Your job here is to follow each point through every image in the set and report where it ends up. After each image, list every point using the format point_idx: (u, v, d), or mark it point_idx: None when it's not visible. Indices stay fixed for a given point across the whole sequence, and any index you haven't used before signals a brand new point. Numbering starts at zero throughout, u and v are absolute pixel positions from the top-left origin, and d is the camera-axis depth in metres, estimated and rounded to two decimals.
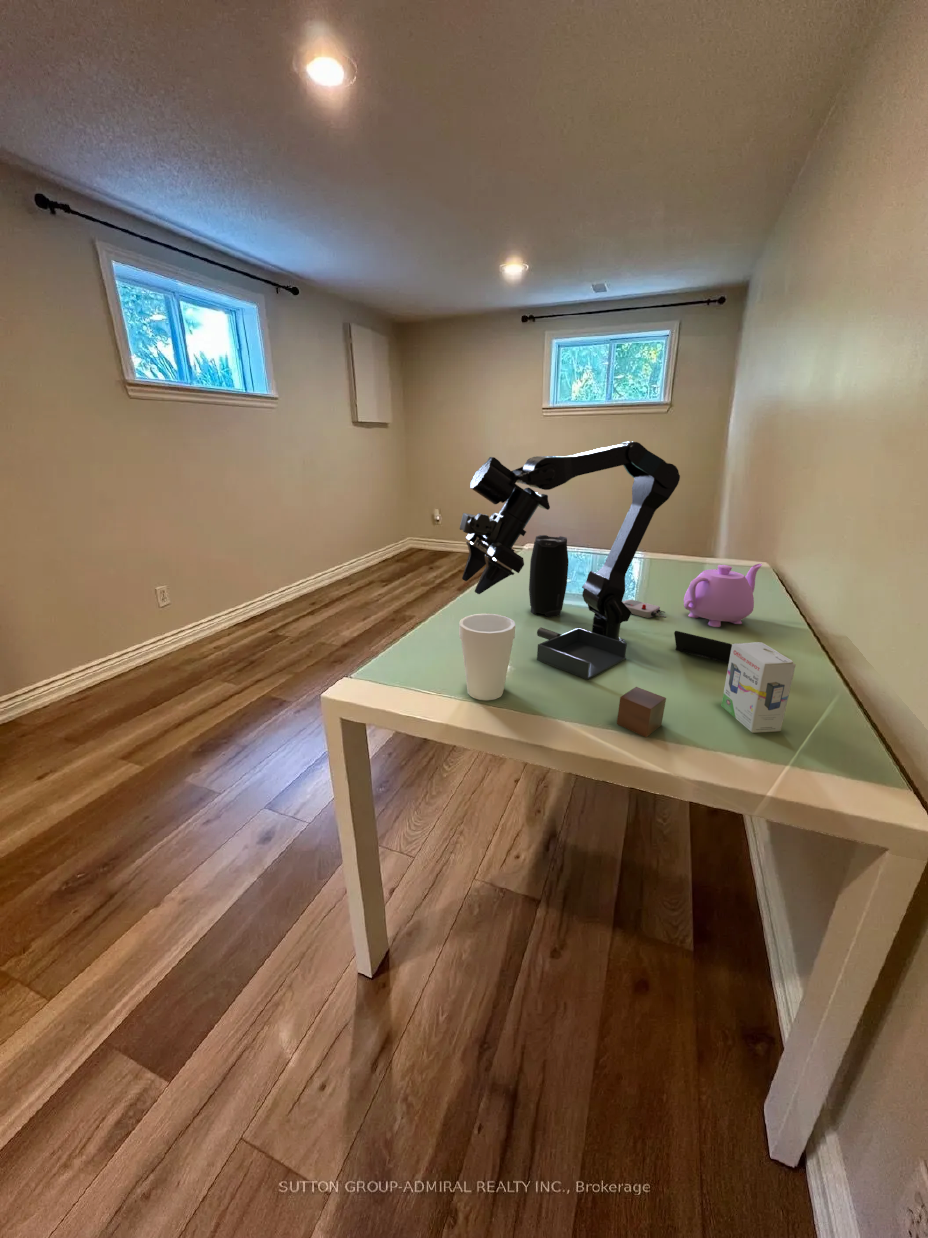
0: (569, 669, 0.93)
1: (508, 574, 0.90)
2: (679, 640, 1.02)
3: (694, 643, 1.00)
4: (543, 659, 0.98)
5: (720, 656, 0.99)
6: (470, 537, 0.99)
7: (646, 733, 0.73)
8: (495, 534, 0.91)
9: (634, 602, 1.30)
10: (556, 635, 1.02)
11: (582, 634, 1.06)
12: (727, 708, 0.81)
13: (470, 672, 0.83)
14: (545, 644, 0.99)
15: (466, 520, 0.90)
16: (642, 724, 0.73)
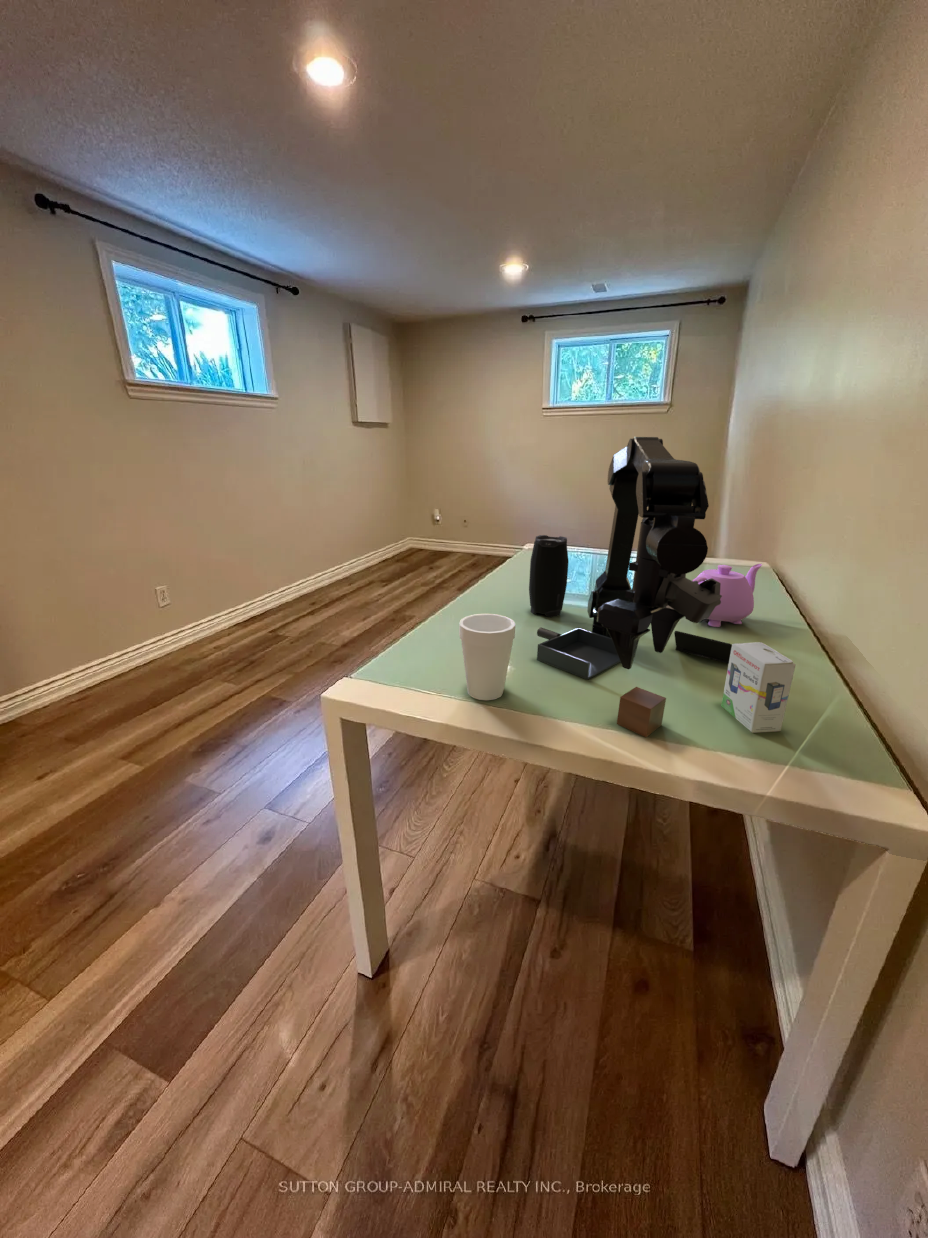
0: (569, 669, 0.93)
1: None
2: (679, 640, 1.02)
3: (694, 643, 1.00)
4: (543, 659, 0.98)
5: (720, 656, 0.99)
6: (648, 624, 0.64)
7: (646, 733, 0.73)
8: None
9: None
10: (556, 635, 1.02)
11: (582, 634, 1.06)
12: (727, 708, 0.81)
13: (470, 672, 0.83)
14: (545, 644, 0.99)
15: (716, 605, 0.65)
16: (642, 724, 0.73)
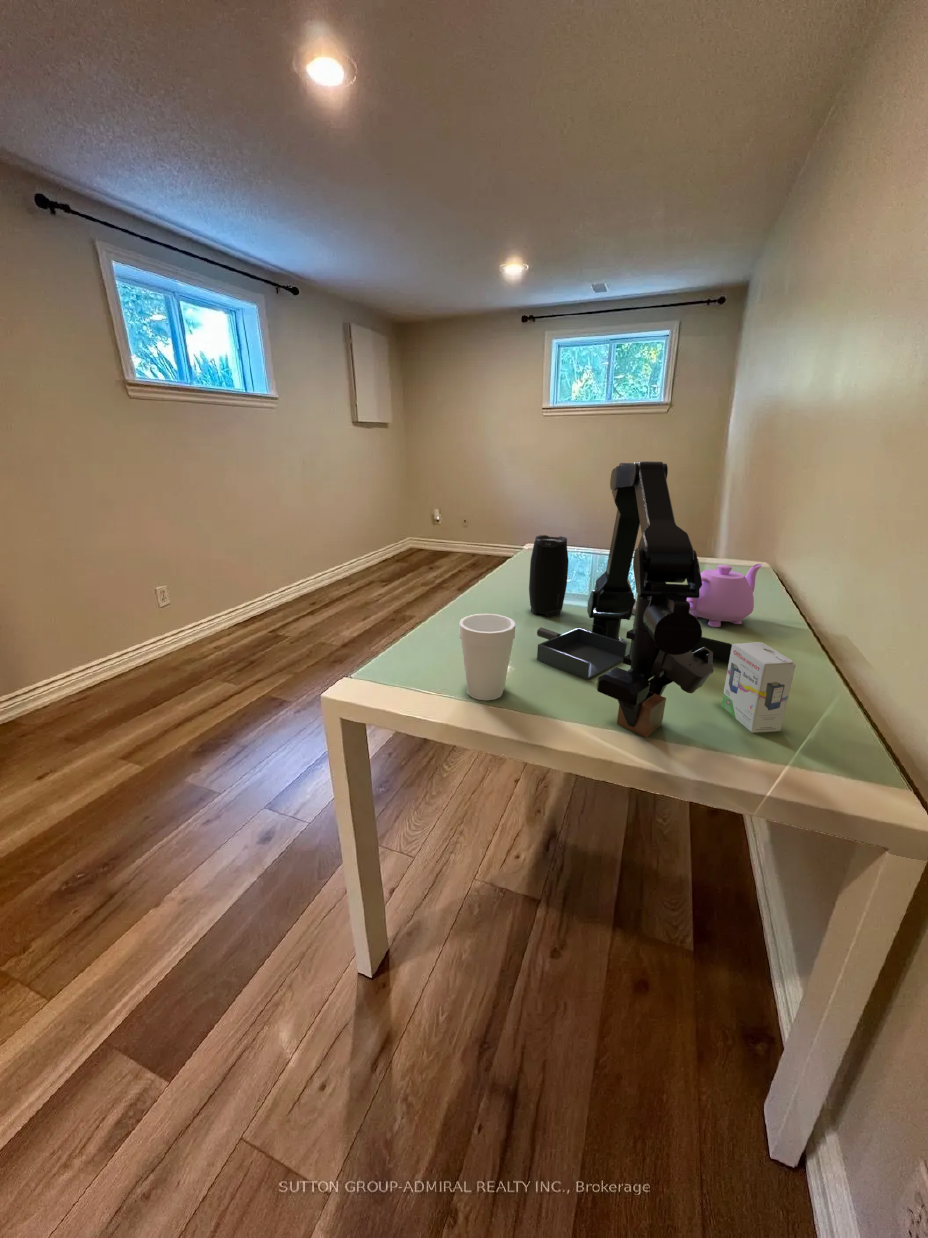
0: (569, 669, 0.93)
1: None
2: None
3: None
4: (543, 659, 0.98)
5: (720, 656, 0.99)
6: (645, 694, 0.68)
7: (646, 733, 0.73)
8: None
9: None
10: (556, 635, 1.02)
11: (582, 634, 1.06)
12: (727, 708, 0.81)
13: (470, 672, 0.83)
14: (545, 644, 0.99)
15: (709, 674, 0.68)
16: (642, 724, 0.73)
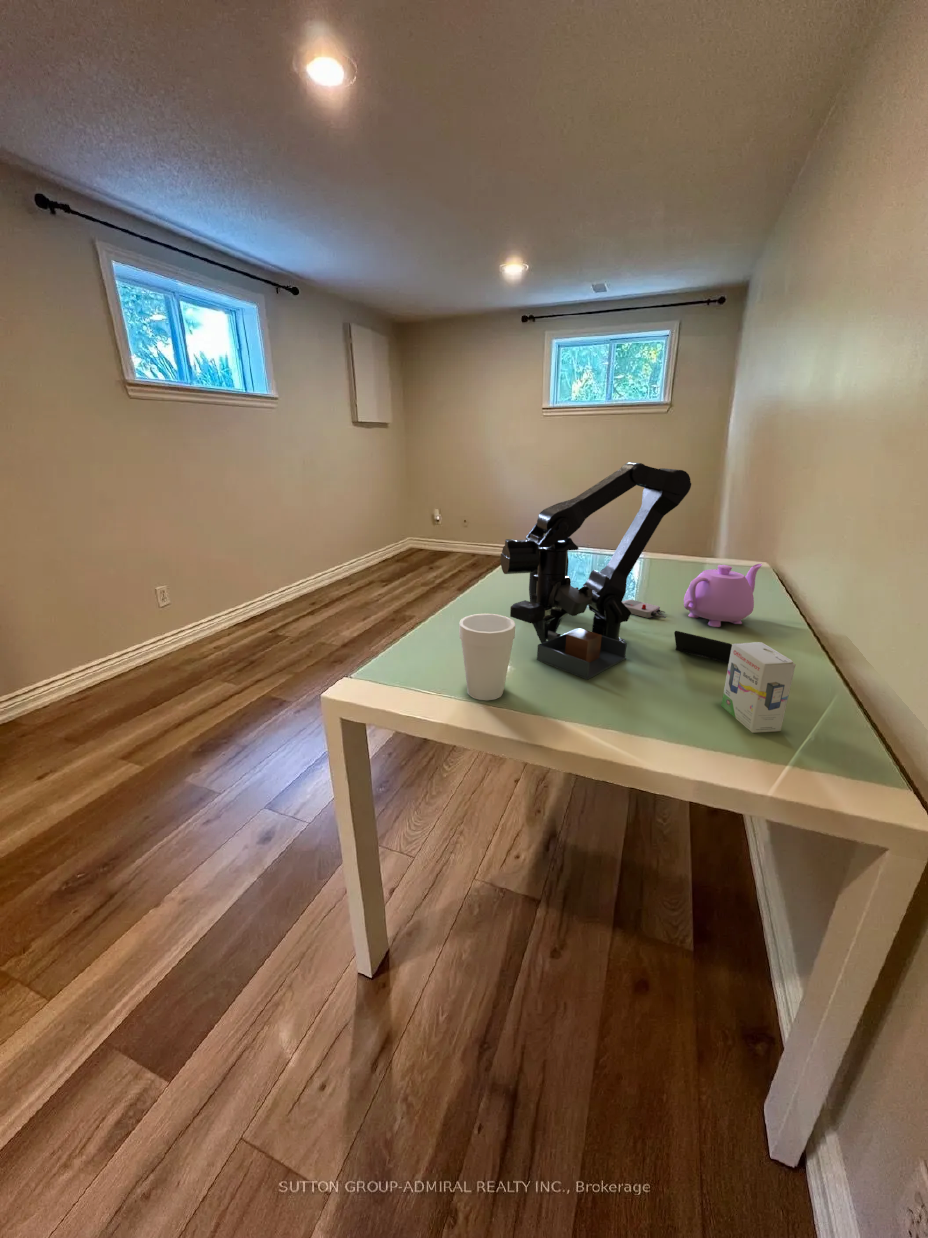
0: (569, 669, 0.93)
1: None
2: (679, 640, 1.02)
3: (694, 643, 1.00)
4: (543, 659, 0.98)
5: (720, 656, 0.99)
6: (542, 617, 0.96)
7: None
8: None
9: (634, 602, 1.30)
10: (556, 635, 1.02)
11: None
12: (727, 708, 0.81)
13: (470, 672, 0.83)
14: (545, 644, 0.99)
15: (587, 603, 0.97)
16: (582, 654, 0.96)
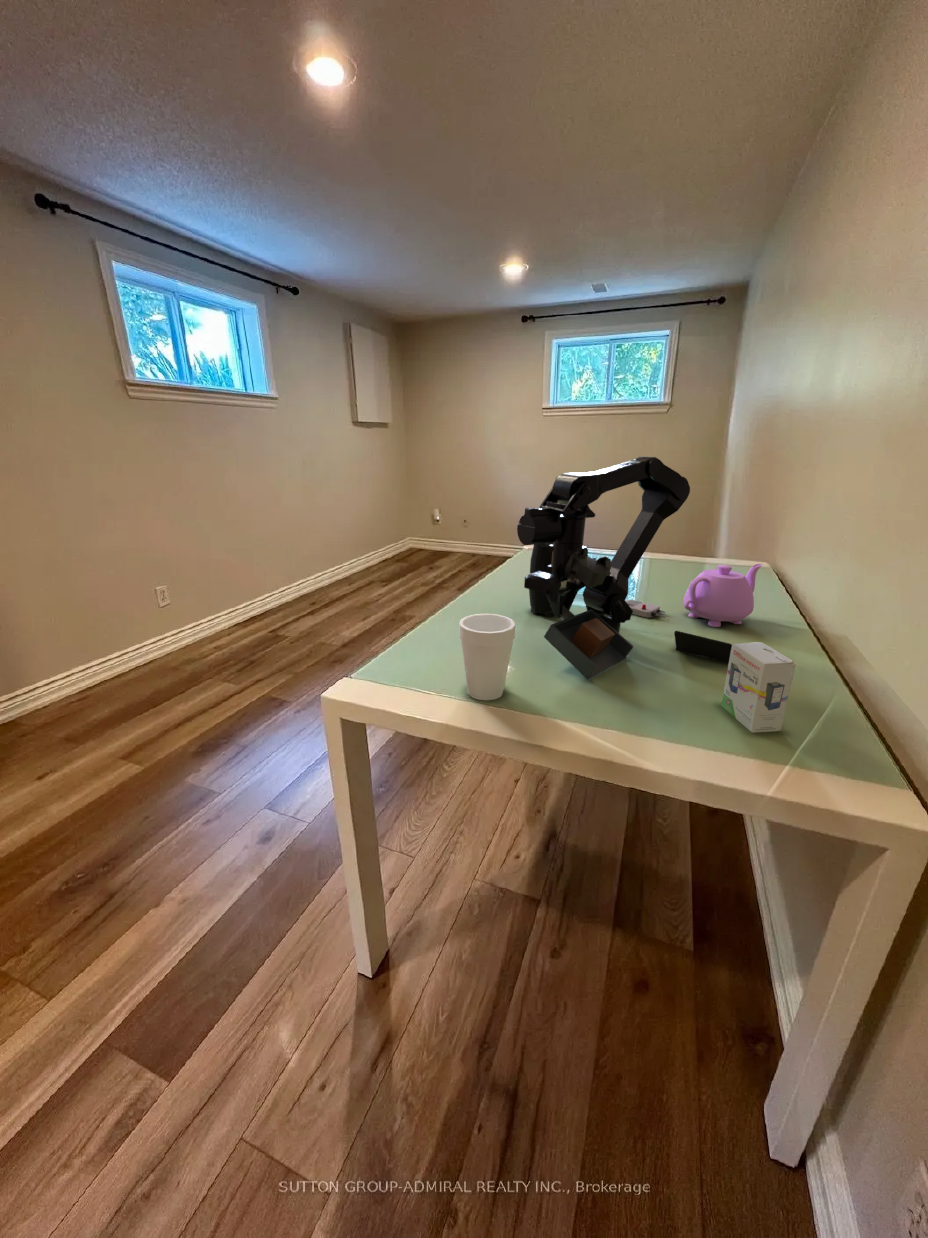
0: (573, 662, 0.92)
1: None
2: (679, 640, 1.02)
3: (694, 643, 1.00)
4: (550, 640, 0.95)
5: (720, 656, 0.99)
6: (558, 588, 0.92)
7: (590, 655, 0.95)
8: None
9: (634, 602, 1.30)
10: (570, 616, 0.98)
11: (592, 618, 1.03)
12: (727, 708, 0.81)
13: (470, 672, 0.83)
14: (557, 625, 0.95)
15: (606, 574, 0.93)
16: (590, 648, 0.94)
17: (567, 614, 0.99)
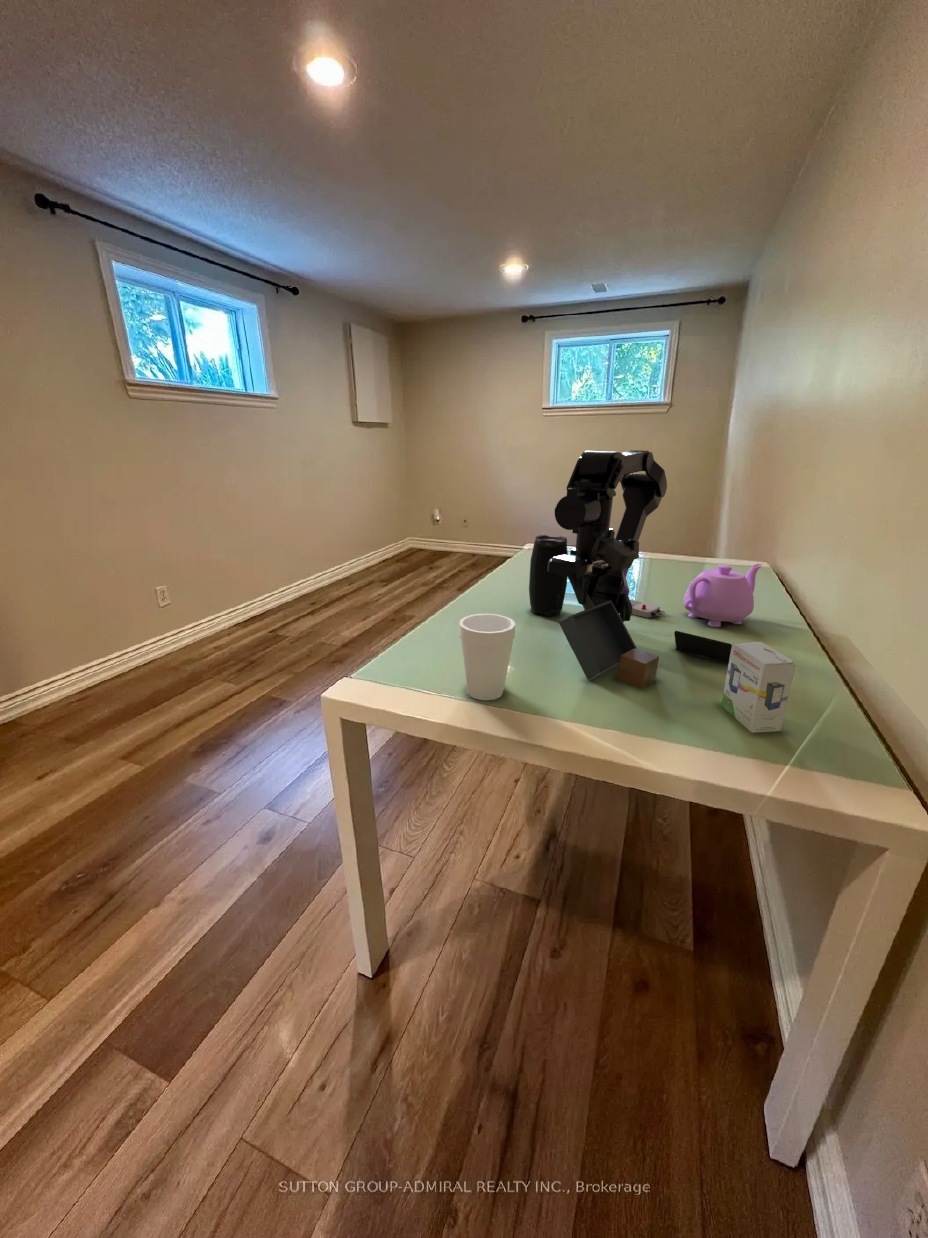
0: (580, 658, 0.91)
1: None
2: (679, 640, 1.02)
3: (694, 643, 1.00)
4: (564, 628, 0.92)
5: (720, 656, 0.99)
6: (584, 571, 0.87)
7: (620, 659, 0.90)
8: None
9: (634, 602, 1.30)
10: (590, 606, 0.94)
11: (609, 609, 1.00)
12: (727, 708, 0.81)
13: (470, 672, 0.83)
14: (576, 616, 0.92)
15: (634, 557, 0.88)
16: (623, 666, 0.90)
17: (588, 604, 0.94)
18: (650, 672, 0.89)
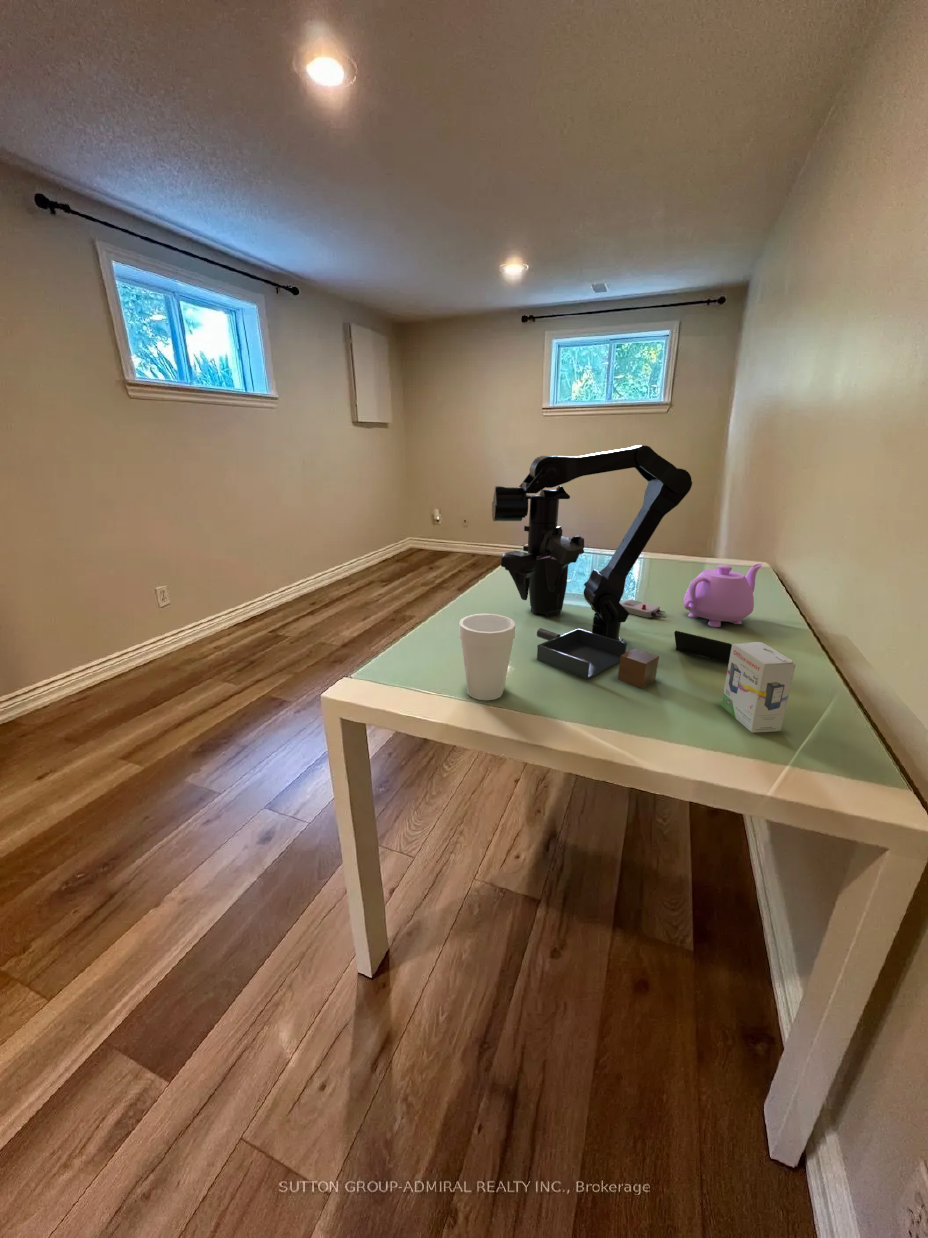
0: (569, 669, 0.93)
1: None
2: (679, 640, 1.02)
3: (694, 643, 1.00)
4: (543, 660, 0.98)
5: (720, 656, 0.99)
6: (533, 566, 0.95)
7: (620, 659, 0.90)
8: None
9: (634, 602, 1.30)
10: (556, 636, 1.02)
11: (582, 635, 1.06)
12: (727, 708, 0.81)
13: (470, 672, 0.83)
14: (545, 645, 0.99)
15: (579, 552, 0.96)
16: (623, 666, 0.90)
17: (553, 635, 1.03)
18: (650, 672, 0.89)
